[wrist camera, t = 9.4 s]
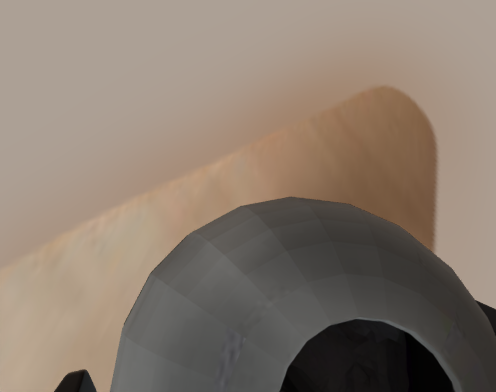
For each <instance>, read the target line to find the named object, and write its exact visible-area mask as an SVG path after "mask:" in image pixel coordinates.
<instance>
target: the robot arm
mask: <svg viewBox="0 0 496 392" xmlns="http://www.w3.org/2000/svg"><path fill="white" fill-rule="evenodd" d="M475 301H476V300H475ZM476 302H477V304H478V305H479V306H480V308H481V309H482V311H483V312H484V313H485V315H486V316H487V317H488V320H489V322H490V324H491V326H492V328H493V331H494V333H495V336H496V309H494V308H492V307H489V306H487V305H485V304H483V303H480V302H478V301H476ZM54 392H97V391H96V388H95V386H94V384H93V382H92V380H91V377H90V375H89V373H88V371H87V370H85V369H84V370H79V371H75V372H71V373H68V374H67V375H66V376H65V377H64V378H63V380H62V381H61V383H60V384H59V385H58V387H57V388H56V390H55V391H54Z"/></svg>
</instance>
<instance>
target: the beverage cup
mask: <svg viewBox="0 0 496 392" xmlns="http://www.w3.org/2000/svg"><path fill="white" fill-rule="evenodd" d="M110 392H496V336H495V333H494V331H493V328H492V326H491V324H490V322H489V320H488V317H487V316H486V315H485V313H484V312H483V311H482V309H481V308H480V306H479V305H478V304H477V302H476V301H475V300H474V298H473V297H472V295H471V294H470V293H469V291H468V290H467V289H466V287H465V286H464V284H463V283H462V282H461V280H460V279H459V278H458V276H457V275H456V274H455V272H454V271H453V269H452V268H451V267H449V266H448V265H447V264H446V263H445V262H443V261H442V260H441V259H440V258H438V257H437V256H436V255H435V254H434V253H432V252H431V251H430V250H429V249H428V248H426V247H425V246H424V245H423V244H421V243H420V242H419V241H418V240H417V239H415V238H414V237H413V236H412V235H410V234H409V233H408V232H407V231H405V230H404V229H403V228H401V227H400V226H398V225H396V224H394V223H391V222H389V221H387V220H385V219H382V218H380V217H378V216H375V215H373V214H371V213H369V212H366V211H364V210H362V209H359V208H357V207H355V206H353V205H350V204H345V203H338V202H330V201H322V200H313V199H305V198H297V197H287V198H282V199H276V200H271V201H266V202H260V203H255V204H250V205H244V206H240V207H238V208H236V209H234V210H232V211H230V212H229V213H227V214H225V215H223V216H221V217H219V218H218V219H216V220H214V221H212V222H210V223H208V224H206V225H205V226H203V227H201V228H199V229H197V230H195V231H193V232H192V233H190V234H189V235H187V236H186V237H185V238H184V239H183V240H182V241H181V242H180V243H179V244H178V245H177V246H176V247H175V248H174V249H173V250H172V251H171V253H170V254H169V255H168V256H167V257H166V258H165V259H164V260H163V261H162V262H161V263H160V264H159V265H158V266H157V267H156V268H155V269H154V270H153V271H152V272H151V273H150V275H149V277H148V279H147V281H146V283H145V285H144V286H143V288H142V290H141V292H140V294H139V296H138V298H137V300H136V302H135V304H134V306H133V308H132V309H131V311H130V313H129V315H128V317H127V319H126V321H125V323H124V326H123V328H122V333H121V338H120V343H119V348H118V353H117V358H116V363H115V368H114V374H113V379H112V384H111V389H110Z"/></svg>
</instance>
